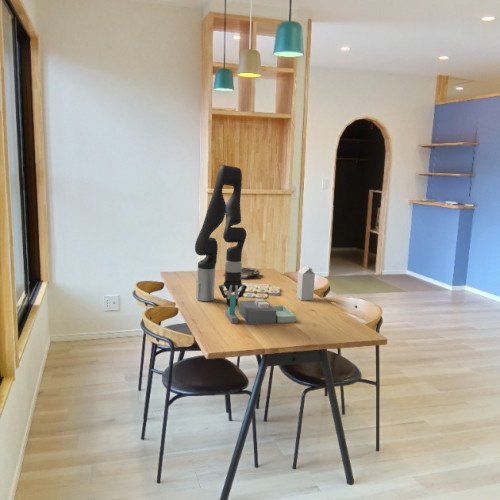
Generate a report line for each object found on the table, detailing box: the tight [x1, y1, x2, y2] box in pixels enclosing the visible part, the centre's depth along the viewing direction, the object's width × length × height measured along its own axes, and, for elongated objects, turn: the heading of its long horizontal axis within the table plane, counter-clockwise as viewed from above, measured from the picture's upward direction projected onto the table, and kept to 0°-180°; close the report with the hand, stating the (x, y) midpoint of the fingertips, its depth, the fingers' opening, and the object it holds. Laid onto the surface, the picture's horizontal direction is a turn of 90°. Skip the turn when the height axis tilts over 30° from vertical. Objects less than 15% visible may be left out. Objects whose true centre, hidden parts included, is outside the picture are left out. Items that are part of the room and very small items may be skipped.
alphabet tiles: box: [223, 282, 281, 300], centre depth 286 cm, size 33×33×2 cm
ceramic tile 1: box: [258, 301, 269, 309], centre depth 232 cm, size 4×4×2 cm
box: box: [271, 304, 297, 324], centre depth 238 cm, size 9×18×3 cm, turn 15°
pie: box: [241, 266, 263, 280], centre depth 324 cm, size 28×27×5 cm
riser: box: [238, 299, 277, 325], centre depth 235 cm, size 13×18×6 cm
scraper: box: [224, 293, 239, 324], centre depth 231 cm, size 3×14×12 cm, turn 15°
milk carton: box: [296, 263, 316, 301], centre depth 272 cm, size 7×7×19 cm
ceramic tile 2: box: [254, 298, 266, 305], centre depth 237 cm, size 4×4×2 cm
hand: (231, 305), depth 231 cm, fingers closed on scraper, 2 cm apart
